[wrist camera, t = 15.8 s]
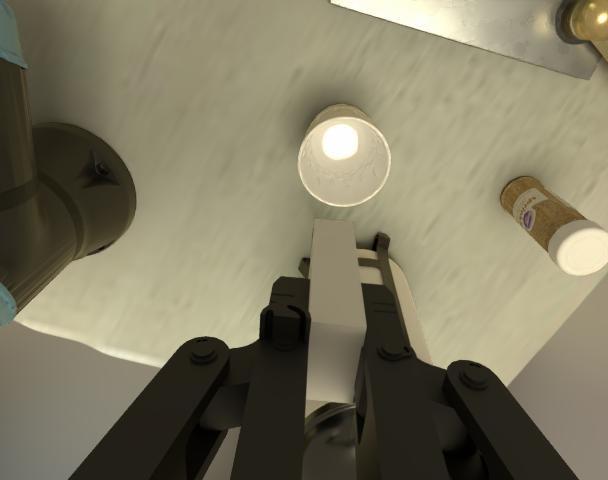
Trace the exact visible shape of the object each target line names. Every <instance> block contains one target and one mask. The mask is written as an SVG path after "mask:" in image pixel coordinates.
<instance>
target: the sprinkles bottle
mask: <svg viewBox="0 0 608 480" xmlns="http://www.w3.org/2000/svg"><path fill="white" fill-rule="evenodd" d="M501 203H502V206H503V208H504V210H505V211H506V212H508V213H509V214H511V215H512V216H513V217H514V219H515V220H516V222H517V223H518V224H519V225H520V226H521V227H522V228H523V229H524V230H525V231H526V232H527V233H528V234H529V235H530V236H532V237H533V238H534V239H535V241H537V242H538V243H539V244H540V245H541V246H542V247H543V248H544V249H545V250H546V251H547V252H548V253H549V256H550V258H551V259H552V261H553V262H554V263H555V264H556V265H557V266H558V267H559V268H560V269H561V270H563V271H564V272H566V273H568V274H571V275H578V276H579V275H587V274H590V273H593V272H595V271H597V270H599V269H601V268H602V267H603V266H604V265H605V264H606V263H607V262H608V232H607V231H606V230H605V229H603V228H602V227H601V226H600V225H598V224H597V223H595V222H593V221H590V220H588V219H586V218H585V217H584V216H583V215H581V214H580V213H579V212H578V211H577V210H576V209H575V208H574V207H572V206H571V205H570V204H568V203H567V202H566V201H564V200H563V199H562V198H560V197H559V196H557V195H556V194H555V193H553V192H552V191H551V190H549V189H547V188H545V187H544V186H543V185H542V184H541V183H540V182H539V181H538V180H536V179H534V178H530V177H521V178H518V179H516V180H514V181H512V182H511V183H509V184H508V185H507V186H506V188H505V190H504V191H503V193H502V196H501Z"/></svg>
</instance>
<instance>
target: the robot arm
mask: <svg viewBox="0 0 608 480" xmlns="http://www.w3.org/2000/svg"><path fill="white" fill-rule="evenodd" d="M25 70H28V64H27V62H26V61H25V60H24V59H23V54H22V49H21V43H20V38H19V32H18V26H17V21H16V17H15V15H14V13H13V11H12V9H11V8H10V7H9V5H8V4H7V3H6V2H5V1H4V0H0V327H3V326H5V325H6V324H8V323H10V322H11V321H12V320H13V319H14V318H15V316H16V315H17V314H18V313H19V312H20V311H21V310H22V309H23V308H24V307H25V306H26V305H27V304H28V303H29V302H30V301H31V300H32V299H33V298H34V297H35V296H36V295H37V294H38V293H39V292H40V291H42V290H43V289H44V288H45V287H46V286H47V285H48V284H49V283H50V282H51V281H52V280H53V279H54V278H55V277H56V276H57V275H58V274H59V273H60V272H61V271H62V270H63V269H64V268H65V267H66V266H67V265H68V264H69V263H71V262H72V261H75V260H78V259H81V258H84V257H86V256H89V255H93V254H96V253H99V252H101V251H103V250H105V249H107V248H108V247H110V246H111V245H113V244H114V243H115V242H116V241H117V240H118V239H119V238H120V237H121V236H122V235H123V234H124V233H125V232H126V231H127V229H128V228H129V226H130V225H131V223H132V220H133V218H134V214H135V209H136V193H135V188H134V184H133V181H132V178H131V176H130V174H129V172H128V170H127V168H126V166H125V165H124V163H123V162H122V160H121V159H120V158H119V156H118V155H117V154H116V153H115V152H114V151H113V150H112V149H111V148H110V147H109V146H108V145H107V144H106V143H105V142H103V141H102V140H101V139H99V138H98V137H96V136H95V135H93V134H91V133H89V132H88V131H85V130H83V129H81V128H78V127H75V126H72V125H68V124H62V123H43V124H38V125H35V126H32V121H31V112H30V104H29V96H28V87H27V79H26V71H25ZM354 394H355V402H356V407H355V412H354V417H353V422H352V428H351V433H350V438H349V439H354V441H355V456H356V472H357V480H579V479H578V478H577V477H576V475H575V474H574V473H573V471H572V470H571V469H570V468H569V466H568V465H567V464H566V463H565V461H564V460H563V459H562V458H561V456H560V455H559V454H558V452H557V451H556V450H555V449H554V447H553V446H552V445H551V444H550V442H549V441H548V440H547V439H546V437H545V436H544V435H543V434H542V432H541V431H540V430H539V429H538V427H537V426H536V425H535V423H534V422H533V421H532V420H531V418H530V417H529V416H528V414H527V413H526V412H525V411H524V409H523V408H522V407H521V406H520V404H519V403H518V402H517V401H516V399H515V398H514V397H513V396H512V394H511V393H510V392H509V390H508V389H507V388H506V387H505V385H504V384H503V383H502V382H501V380H500V379H499V378H498V377H497V376H496V375H495V374H494V373H493V372H492V371H491V370H490V369H489V368H487V367H485V366H483V365H482V364H479V363H476V362H473V361H469V360H458V361H454V362H452V363H451V364H450V365H449V366H448V368H447V370H445V369H442V368H439V367H436V366H433V365H430V364H428V363H426V362H423V361H422V360H420V359H418V358H417V355H416V353H415V351H414V349H413V348H412V347H411V346H410V345H409V344H408V343H407V342H405V338H404V334H403V330H402V326H401V322H400V318H399V314H398V310H397V306H396V302H395V298H394V294H393V293H392V292H391V291H390V290H389V289H388V288H387V287H386V285H379V284H368V283H361V280H360V272H359V265H358V257H357V250H356V242H355V235H354V227H353V222H347V221H336V220H326V219H315V220H314V230H313V240H312V249H311V259H310V269H309V279H305V278H295V277H284V276H281V277H280V278H279V279H278V280H277V281H276V282H275V283H274V284H273V287H272V292H271V297H270V303H269V305H268V306H267V307H265V308H264V309H263V310H262V312H261V314H260V333H259V339H258V340H257V341H255V342H254V343H252V344H250V345H247V346H244V347H239V348H232V349H229V347H228V346H227V345H226V344H225V342H224V341H222V340H220V339H217V338H215V337H207V336H205V337H197V338H194V339H191V340H189V341H186V342H185V343H184V344H183V345H182V346H180V347H179V348H178V350H177V351H176V352H175V353H174V354H173V356H172V357H171V358H170V359H169V360H168V361H167V363H166V364H165V365H164V366H163V367H162V369H161V370H160V371H159V372H158V373H157V375H156V376H155V377H154V378H153V379H152V381H151V382H150V383H149V384H148V385H147V387H146V388H145V389H144V390H143V391H142V392H141V393H140V395H139V396H138V397H137V398H136V399H135V401H134V402H133V403H132V404H131V405H130V407H129V408H128V409H127V410H126V411H125V413H124V414H123V415H122V416H121V417H120V419H119V420H118V421H117V422H116V423H115V424H114V426H113V427H112V428H111V429H110V430H109V431H108V433H107V434H106V435H105V436H104V437H103V439H102V440H101V441H100V442H99V443H98V445H97V446H96V447H95V448H94V449H93V450H92V452H91V453H90V454H89V455H88V456H87V458H86V459H85V460H84V461H83V462H82V464H81V465H80V466H79V467H78V468H77V470H76V471H75V472H74V473H73V474H72V475H71V477H70V478H69V479H68V480H202V479H203V477H204V476H205V473H206V472H207V470H208V468H209V466H210V464H211V462H212V461H213V459H214V457H215V455H216V453H217V452H218V450H219V448H220V446H221V444H222V442H223V440H224V439H225V437H226V435H227V432H228V429H230V428H235V427H240V426H241V429H240V434H239V440H238V444H237V448H236V453H235V458H234V463H233V468H232V472H231V477H230V480H302V467H303V448H304V428H305V408H306V399H307V400H317V401H327V402H338V403H348V404H353V399H354Z"/></svg>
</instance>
